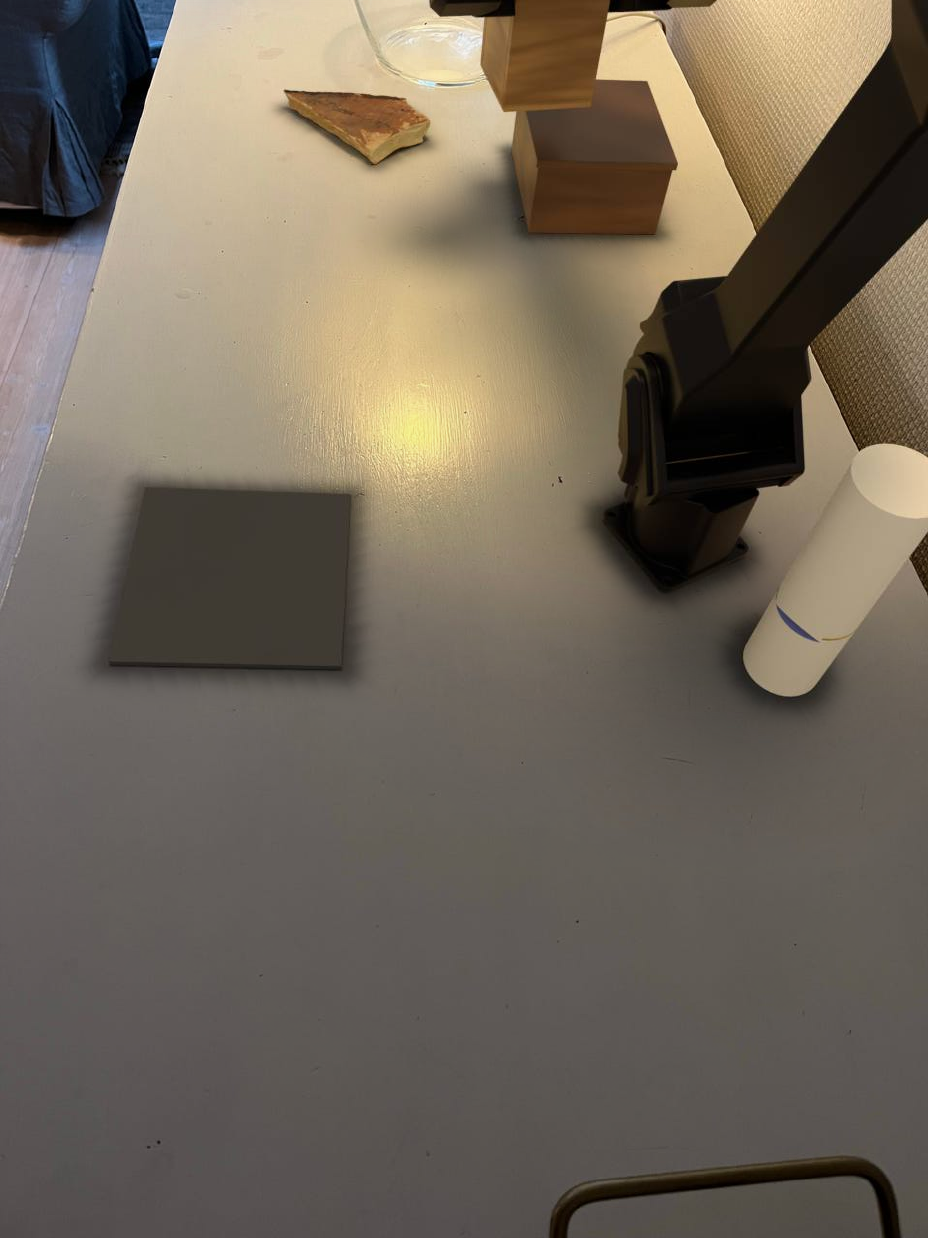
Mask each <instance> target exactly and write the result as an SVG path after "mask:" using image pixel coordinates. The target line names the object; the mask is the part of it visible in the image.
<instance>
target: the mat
mask: <svg viewBox="0 0 928 1238" xmlns="http://www.w3.org/2000/svg"><path fill="white" fill-rule="evenodd" d="M141 500H142V501H141V505H140V510H139V514H138V520H137V524H136V529H135V534H134V539H133V544H132V548H131V552H130V558H129V562H128V568H127V572H126V577H125V582H124V587H123V590H122V596H121V601H120V606H119V611H118V615H117V620H116V623H115V624H116V625H115V629H114V633H113V639H112V644H111V650H110V653H109V658H108V663H109V665H110V666H140V667H141V666H142V667H143V666H144V667H188V668H189V667H197V668H198V667H199V668H238V669H239V668H243V669H244V668H246V669H291V670H292V669H293V670H294V669H295V670H297V669H299V670H342V669H343V658H344V657H343V654H344V638H345V637H344V635H345V621H346V620H345V617H346V600H347V581H348V580H347V579H348V563H349V562H348V561H349V542H350V526H351V525H350V522H351V506H352V505H351V504H352V494H351V493H332V492H331V493H329V492H304V491H303V492H301V491H297V492H296V491H270V490H268V491H267V490H242V489H241V490H240V489H211V488H184V487H183V488H182V487H181V488H180V487H179V488H178V487H151V486H145V487H144V491H143V495H142V499H141Z"/></svg>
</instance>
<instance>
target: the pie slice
mask: <svg viewBox="0 0 928 1238" xmlns="http://www.w3.org/2000/svg"><path fill="white" fill-rule="evenodd" d="M283 93H284V94H285V96H286V98H287V100H288V107H289V108H290V109H291V110H295V111H297V112H298V113H299V114H300V115H301V116H303V117H304V118H306V119H310V120H311V121H313V122H314V123H316V124H317V125H319V127H321V128H322V129H324V130H325V131H326V132H328V133H331V134H333V135H334V136H337V137H338V138H339V139H340V140H341V141H343V142H344V143H345V144H347V145H348V146H351V147H352V148H355V150H357V151H358V152H360V154H362V155H364V157H366V158H368V160H369V161H370V162H371V163H372V164H374V165H377V164H378V163H380V162H381V161H382V160H384V159H385V158H386V157H387V156H389V155H391V154H392V153H393V152H394V151H396V150H399V149H400V148H406V147H412V146H414V145H418V144H422V143H423V142H424V136H425V135H426V134H427V132H428V131H429V128H430V127H431V119H430V118H429V117H428V116H427V115H425V114H423V113H422V112H420V111H419V110H417V109H415V107H413V106H412V105H411V104H409V102H407V98H406V97H398V96H391V95H384V94H383V95H382V94H381V95H380V94H379V95H373V94H370V93H359V92H357V93H356V92H350V91H349V92H348V91H347V92H344V91H343V92H342V91H306V90H290V89H283Z"/></svg>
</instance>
